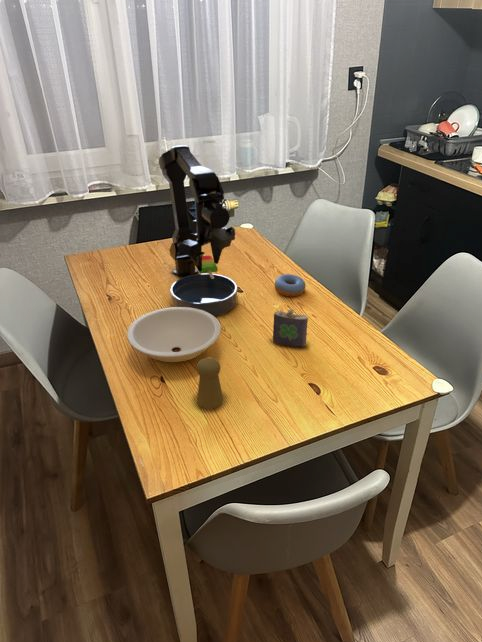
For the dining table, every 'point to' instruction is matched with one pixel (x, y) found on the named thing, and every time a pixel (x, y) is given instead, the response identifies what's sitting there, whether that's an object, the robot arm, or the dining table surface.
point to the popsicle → (208, 266)
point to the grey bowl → (174, 333)
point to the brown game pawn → (209, 384)
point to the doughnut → (289, 285)
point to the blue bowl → (205, 293)
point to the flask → (290, 329)
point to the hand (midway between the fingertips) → (208, 267)
